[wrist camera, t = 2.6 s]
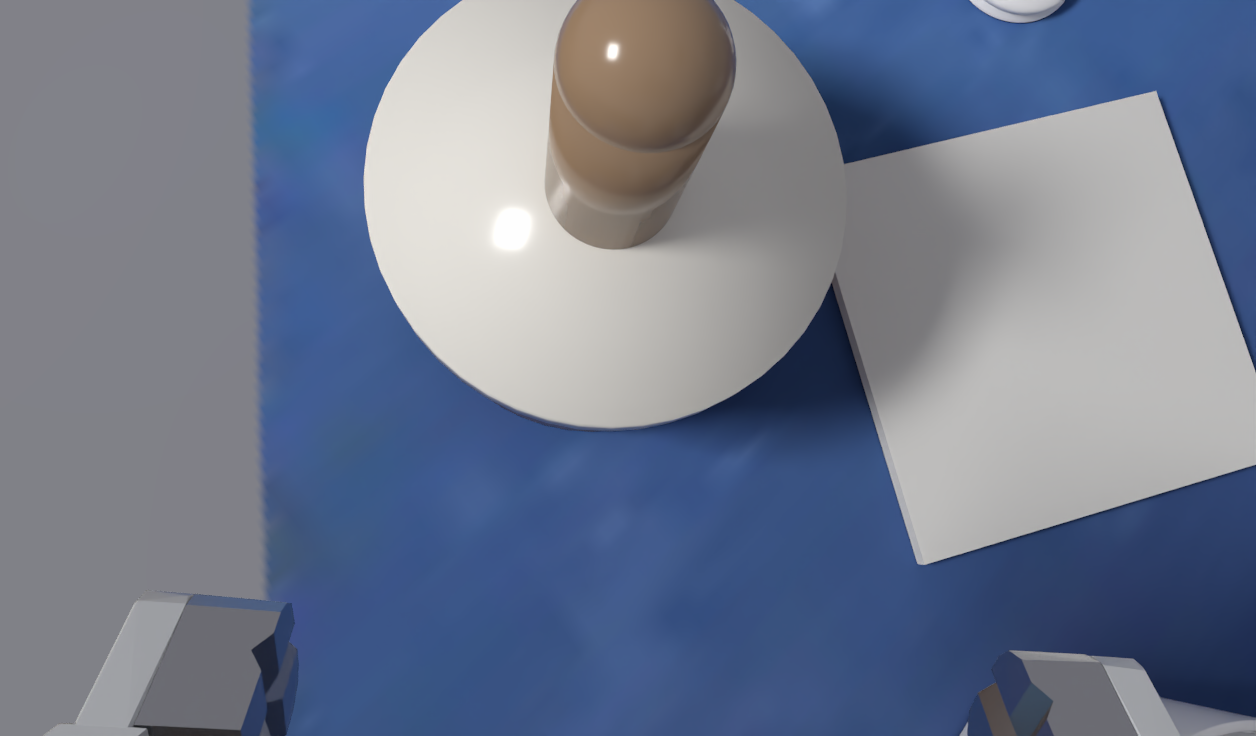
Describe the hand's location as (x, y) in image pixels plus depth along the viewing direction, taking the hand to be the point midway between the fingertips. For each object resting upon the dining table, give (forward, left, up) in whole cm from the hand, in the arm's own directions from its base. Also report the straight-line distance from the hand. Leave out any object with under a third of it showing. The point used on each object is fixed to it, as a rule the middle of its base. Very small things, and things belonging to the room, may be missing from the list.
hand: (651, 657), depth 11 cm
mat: (-19, -4, -21) cm, 28 cm away
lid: (-3, -10, -15) cm, 18 cm away
